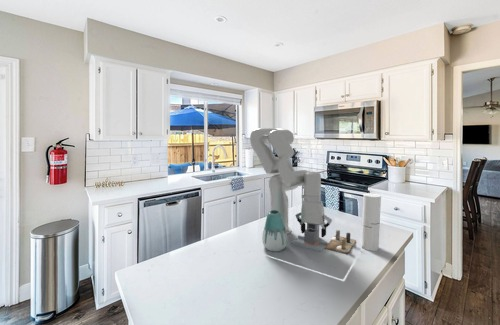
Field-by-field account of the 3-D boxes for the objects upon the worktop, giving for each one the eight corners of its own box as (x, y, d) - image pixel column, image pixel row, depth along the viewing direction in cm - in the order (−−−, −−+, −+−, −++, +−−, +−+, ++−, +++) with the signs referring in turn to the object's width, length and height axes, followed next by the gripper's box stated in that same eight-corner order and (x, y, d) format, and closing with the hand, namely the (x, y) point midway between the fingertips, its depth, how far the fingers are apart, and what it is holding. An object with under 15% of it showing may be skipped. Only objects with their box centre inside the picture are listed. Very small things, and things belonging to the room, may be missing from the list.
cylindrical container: (380, 251, 110) (383, 197, 107) (363, 250, 112) (365, 196, 109) (375, 244, 117) (378, 193, 114) (359, 243, 119) (361, 192, 116)
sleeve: (304, 245, 116) (304, 231, 115) (308, 241, 120) (308, 227, 119) (314, 248, 113) (314, 233, 112) (318, 244, 117) (318, 230, 116)
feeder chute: (291, 244, 118) (291, 240, 118) (298, 238, 125) (298, 235, 124) (321, 252, 110) (321, 248, 109) (327, 246, 116) (327, 242, 116)
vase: (277, 257, 106) (277, 217, 104) (257, 249, 114) (256, 211, 112) (292, 247, 115) (292, 210, 113) (272, 240, 123) (272, 206, 120)
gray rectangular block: (306, 238, 125) (306, 219, 123) (309, 235, 128) (310, 217, 127) (316, 241, 122) (316, 221, 120) (319, 238, 125) (319, 219, 124)
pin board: (323, 249, 113) (324, 237, 112) (334, 237, 126) (334, 226, 125) (348, 255, 107) (348, 243, 106) (356, 242, 120) (357, 231, 119)
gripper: (292, 198, 116) (292, 233, 117) (328, 202, 105) (329, 240, 107) (298, 195, 122) (299, 228, 123) (333, 198, 112) (334, 235, 113)
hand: (313, 234), depth 115 cm, fingers open, 9 cm apart
